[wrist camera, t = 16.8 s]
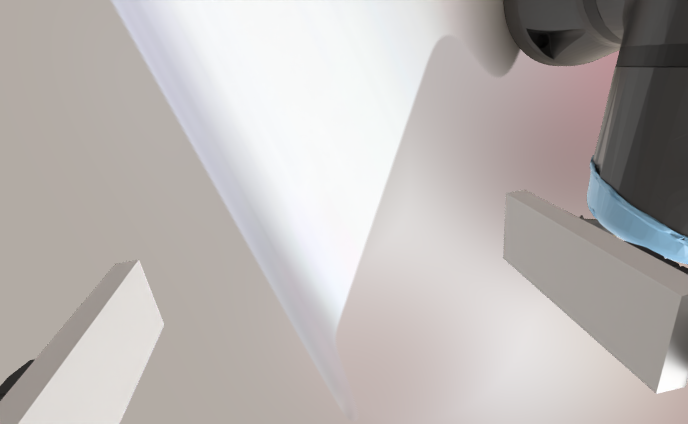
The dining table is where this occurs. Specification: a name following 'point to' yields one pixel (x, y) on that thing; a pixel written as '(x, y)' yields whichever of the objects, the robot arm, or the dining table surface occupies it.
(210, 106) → the dining table surface
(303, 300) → the dining table surface
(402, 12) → the dining table surface
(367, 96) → the dining table surface
